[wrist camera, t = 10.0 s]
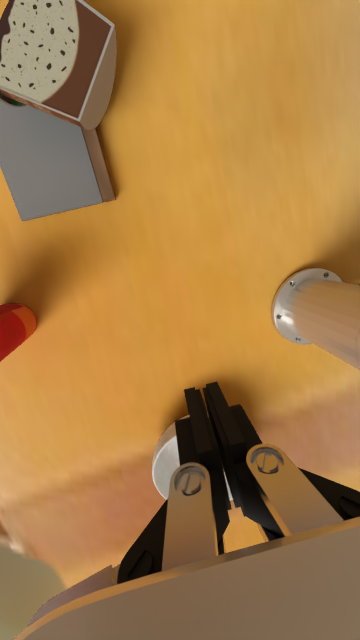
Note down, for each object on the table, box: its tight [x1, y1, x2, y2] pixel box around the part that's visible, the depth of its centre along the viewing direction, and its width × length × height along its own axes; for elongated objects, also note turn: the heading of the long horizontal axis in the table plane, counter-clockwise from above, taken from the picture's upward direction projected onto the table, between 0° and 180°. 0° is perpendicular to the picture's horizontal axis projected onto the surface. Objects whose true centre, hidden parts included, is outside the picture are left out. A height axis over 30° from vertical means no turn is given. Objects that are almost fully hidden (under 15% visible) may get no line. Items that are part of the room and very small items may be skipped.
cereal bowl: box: [152, 413, 233, 501], centre depth 42 cm, size 17×17×7 cm
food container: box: [0, 0, 117, 130], centre depth 26 cm, size 12×6×10 cm
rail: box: [82, 128, 116, 202], centre depth 30 cm, size 2×18×2 cm, turn 13°
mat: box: [0, 100, 103, 221], centre depth 30 cm, size 11×18×1 cm, turn 13°
